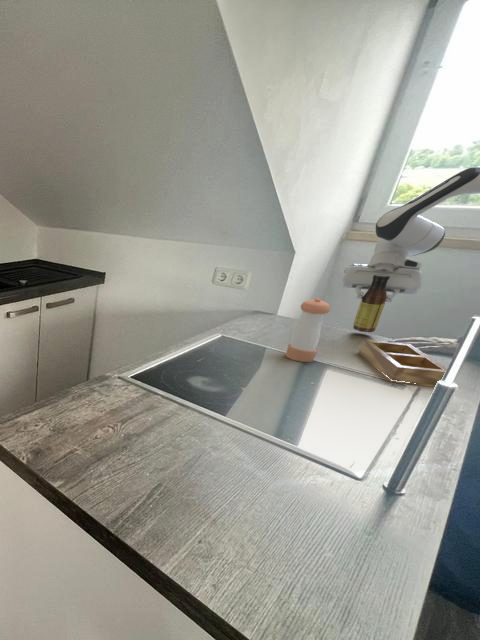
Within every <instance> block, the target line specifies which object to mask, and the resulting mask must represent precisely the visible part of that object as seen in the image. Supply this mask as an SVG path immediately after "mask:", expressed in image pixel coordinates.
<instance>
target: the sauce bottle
mask: <svg viewBox="0 0 480 640" xmlns="http://www.w3.org/2000/svg"><path fill="white" fill-rule="evenodd" d="M389 278H390V275H386V274H375V275H374V276H373V281H372V284H371V286H370V288H369V289H368V290H367V291H366V292H364V294H363V297H362V299H360V303H359V306H358V309H357V311H356V315H355V318H354V321H353V326H352V328H353V329H354V330H356V331H358V332H362V333H373V332H375V331H376V329H377V327H378V324H379V322H380V318H381V316H382V312H383V310H384V307H385V305H386V302H385V301H386V298H387V296H388V292H386V291H385V288H386V284H387V281H388V280H389Z"/></svg>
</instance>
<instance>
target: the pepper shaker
mask: <svg viewBox="0 0 480 640" xmlns="http://www.w3.org/2000/svg"><path fill="white" fill-rule="evenodd" d="M300 311H302V312H301V315H300V318H299V321H298V324H297V325H296V328H295V330H294V332H293V333H292V337H291V340H290V343H289V344H288V346H287V349H286V352H285V357H287V358H288V359H290V360H292V361H297V362H300V363H301V362H302V363H312V362H314V360H315V358H316V356H317V355H316V354H317V351H318V348H317V347H318V344H319V342H320V337H321V328H322V325H323V321H324V319H325V315H326V314H328V313H329V312H330V311H331V305H330V303H328V302H326V301H323V300H322V299H321V298H319V297H316V298H314V299H308V300H305V301H302V303H301V305H300Z"/></svg>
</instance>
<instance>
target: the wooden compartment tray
mask: <svg viewBox="0 0 480 640" xmlns="http://www.w3.org/2000/svg"><path fill="white" fill-rule="evenodd" d="M358 355H360V356H361V357H362V358H363V359H364V360H366V362H368V363H369V364H370V365H371V366H372V367H374V368H375V369H376V370H377V371H378V372H379V373H380V374H381V375H383V376H384V377H385V378H386V379H387V381H389V382H390V383H397V384H403V385H405V384H406V385H413V386H423V387H431V388H436V387H435V385H436V383H437V381H439V380H441V379H442V377H443V375H444V373H445V371H446V370H447V368H448V367H446V366H444V365H443V364H441V363H440V362H439V361H437V360H435V359H434V358H432V357H431V356H429V355H428V354H427V353H425V352H423V351H421V350H420V349H419V348H417V347H415V346H414V345H412V344H411V343H404V342H392V341H380V340H379V341H378V340H371V339H370V340H369V339H363V340H362V343H361V346H360V347H359V351H358ZM378 369H379V370H378ZM382 372H383V373H384V374H385V375H387V376H388V377H389V378H390V379H392V380H397V381H405V382H410V383H405V382H396V381H391V380H390V379H389V378H388V377H386V376H385V375H384V374H383V373H382ZM414 383H416V384H414Z"/></svg>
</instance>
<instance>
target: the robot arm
mask: <svg viewBox="0 0 480 640" xmlns="http://www.w3.org/2000/svg"><path fill="white" fill-rule="evenodd" d="M463 195H465V196H466V195H476V196H477V195H479V196H480V165H479V166H474V167H469V168H466V169H464V170H461V171H459V172H457V173H455V174H454V175H452V176H450V177H449V178H446V179H445V180H443V181H442V182H440V183H438V184H436V185H435V186H433V187H431V188H429V189H428V190H426V191H425V192H423V193H421V194H420V195H418V196H416V197H414V198H412V199H411V200H409V201H408V202H406V203H403V204H402V205H400V206H398V207H396V208H394V209H392V210H390V211H387V212H386V213H384V214H383V215H382V216H381V217H380V218H379V219H378V220H377V221H376V223H375V235H376V237H377V238H378V239H377V242H376V244H375V246H374V250H373V252H374V253H373V254H372V256H371V257H370V261H369V263H368V264H357V263H352V264H349V265H347V266H346V267H345V268H344V275H343V276H342V279H341V281H340V282H341V283H340V285H341V287H342V288H348V289H354V291H355V293H356V299H359V300H361V299H362V297H363V296H364V295H365V292H364V291H361V290H367V291H368V289H369V288H370V286H371V284H372V281H373V276H374V275H375V274H386V275H390V278H389V280H388V281H387V284H386V288H385V291H386V293H392V294H391V295H390V294H387V298H386V301H385V303H392V301H393V299H394V298H396V297H397V296H399V294H403V295H406V294H407V295H415V294H418V293H419V292H420V290H421V288H422V285H423V272H422V271H421V270H422V267H423V263H422V262H419V261H416V260H412V259H408V257H414V256H415V257H416V256H418V255H423V254H427V253H429V252H431V251H434V250H435V249H437V248H438V247H439V246H440V245H441V243H442V242H443V240H444V239H445V235H446V228H444V227H443V226H441V225H440V224H438V223H436V222H434V221H432V220H429V219H427V218H425V217H423V216H421V215H423V214H424V213H426V212H427V211H429V210H431V209H432V208H434V207H436V206H438V205H439V204H441V203H443V202H445V201H447V200H448V199H451V198H454V197H458V196H463Z"/></svg>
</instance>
